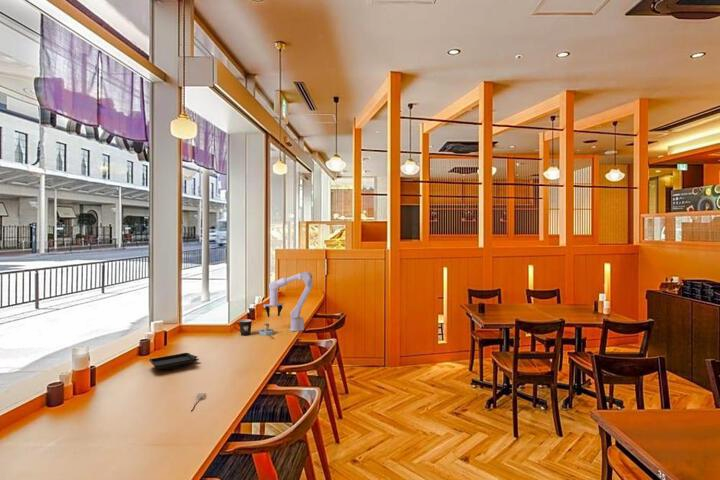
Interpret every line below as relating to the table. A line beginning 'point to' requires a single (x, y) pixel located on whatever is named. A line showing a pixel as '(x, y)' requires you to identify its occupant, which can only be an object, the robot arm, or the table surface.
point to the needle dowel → (266, 327)
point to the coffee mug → (245, 327)
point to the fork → (199, 396)
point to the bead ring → (266, 332)
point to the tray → (173, 361)
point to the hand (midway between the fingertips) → (273, 316)
